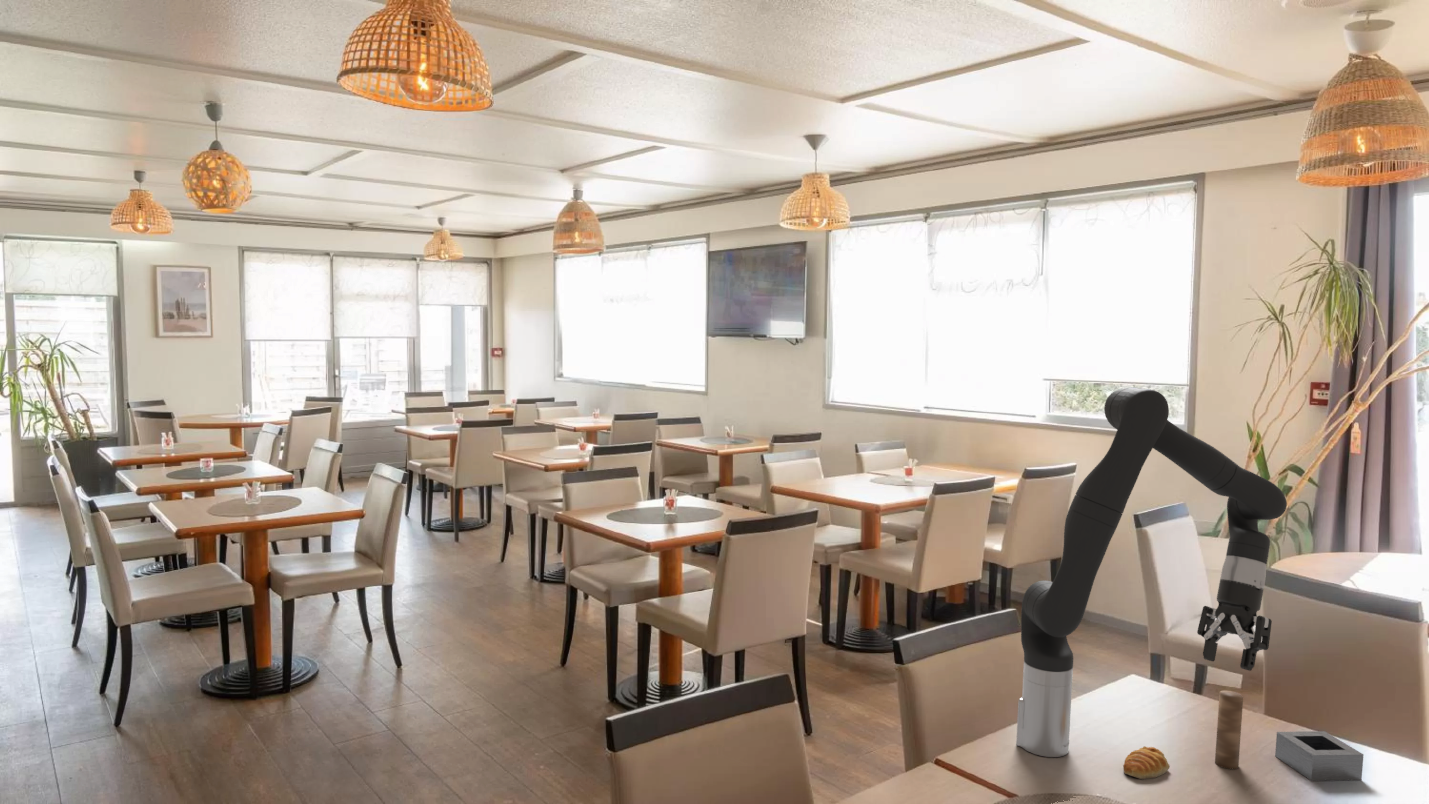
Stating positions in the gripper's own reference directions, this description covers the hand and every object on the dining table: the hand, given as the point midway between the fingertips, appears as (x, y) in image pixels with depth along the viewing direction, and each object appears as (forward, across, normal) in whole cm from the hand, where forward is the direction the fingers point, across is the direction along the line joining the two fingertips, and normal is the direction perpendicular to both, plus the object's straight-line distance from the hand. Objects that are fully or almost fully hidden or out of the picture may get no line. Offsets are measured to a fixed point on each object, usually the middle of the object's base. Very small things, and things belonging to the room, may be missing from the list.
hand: (1226, 664), depth 178 cm
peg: (+18, -2, +6) cm, 20 cm away
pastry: (+24, -4, -10) cm, 26 cm away
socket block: (+14, +4, +22) cm, 27 cm away
